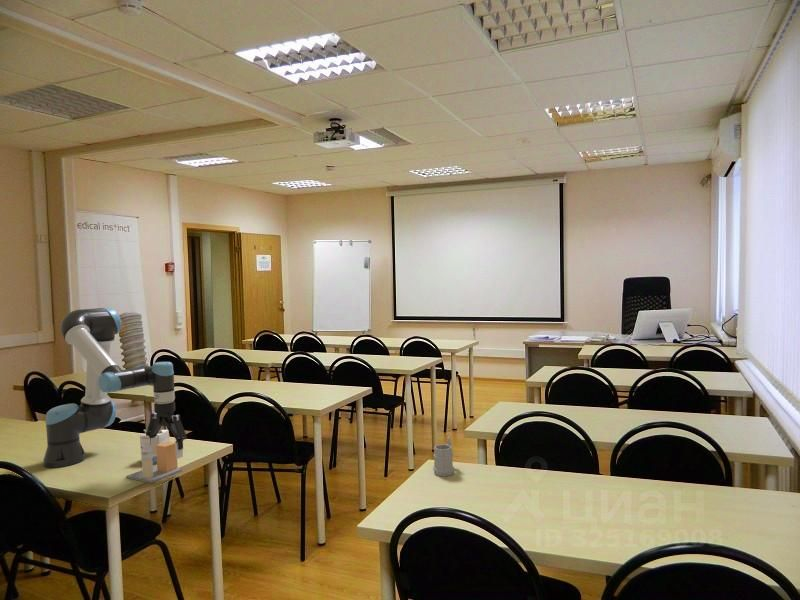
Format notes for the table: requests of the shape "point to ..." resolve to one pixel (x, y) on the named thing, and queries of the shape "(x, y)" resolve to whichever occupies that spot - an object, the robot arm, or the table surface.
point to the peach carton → (166, 457)
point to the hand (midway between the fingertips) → (167, 455)
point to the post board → (155, 475)
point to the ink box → (146, 446)
